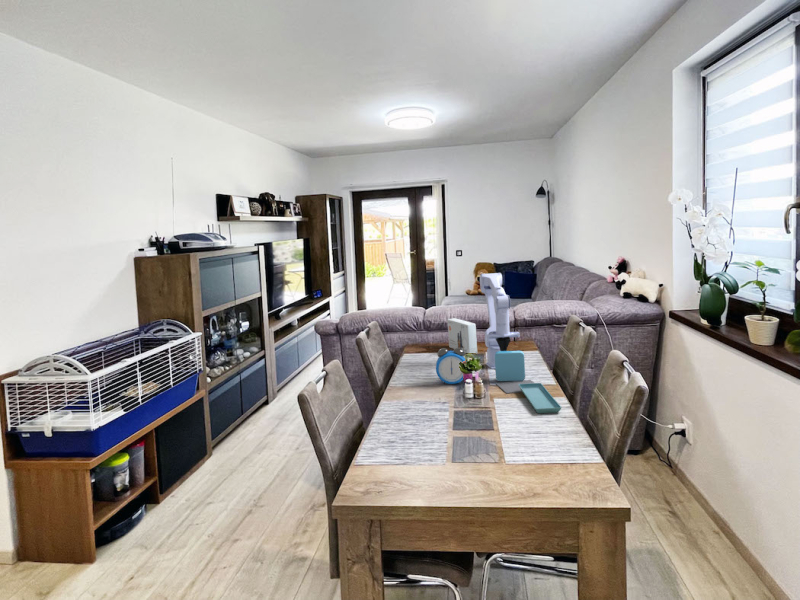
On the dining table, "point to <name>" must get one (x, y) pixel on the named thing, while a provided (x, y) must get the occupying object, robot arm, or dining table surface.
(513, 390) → the mat
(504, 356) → the data package
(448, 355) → the alarm clock
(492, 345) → the robot arm
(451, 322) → the skincare box
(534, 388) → the teal serving tray
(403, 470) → the dining table surface
